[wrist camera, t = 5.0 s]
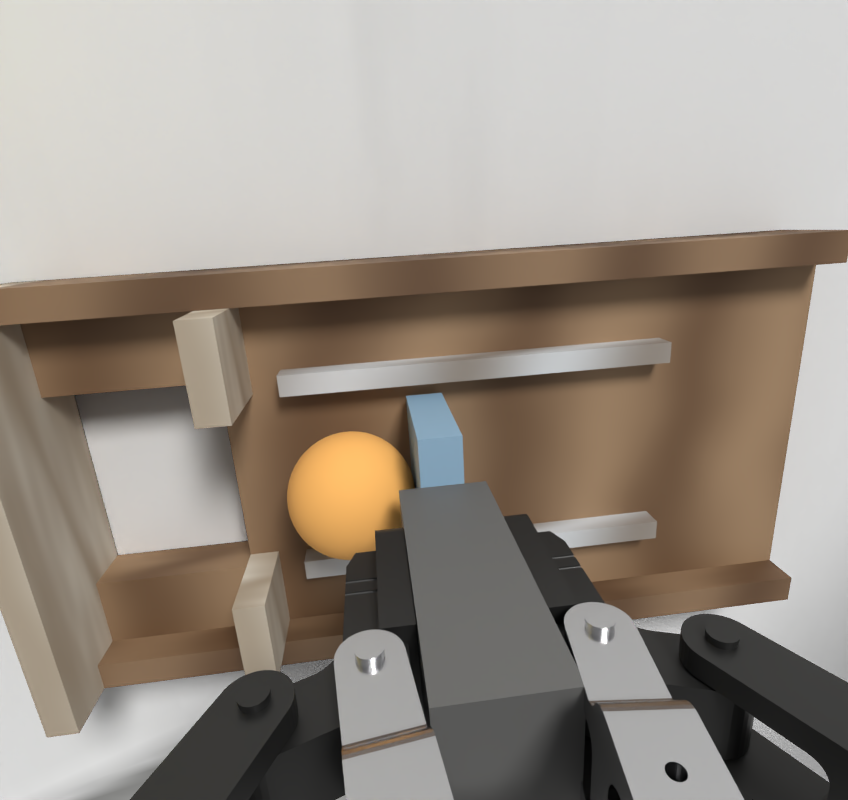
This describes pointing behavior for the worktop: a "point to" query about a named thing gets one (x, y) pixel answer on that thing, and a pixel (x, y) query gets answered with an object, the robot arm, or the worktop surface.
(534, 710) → the bar
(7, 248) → the worktop surface
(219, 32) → the worktop surface
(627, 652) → the robot arm
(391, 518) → the ball
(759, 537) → the board
